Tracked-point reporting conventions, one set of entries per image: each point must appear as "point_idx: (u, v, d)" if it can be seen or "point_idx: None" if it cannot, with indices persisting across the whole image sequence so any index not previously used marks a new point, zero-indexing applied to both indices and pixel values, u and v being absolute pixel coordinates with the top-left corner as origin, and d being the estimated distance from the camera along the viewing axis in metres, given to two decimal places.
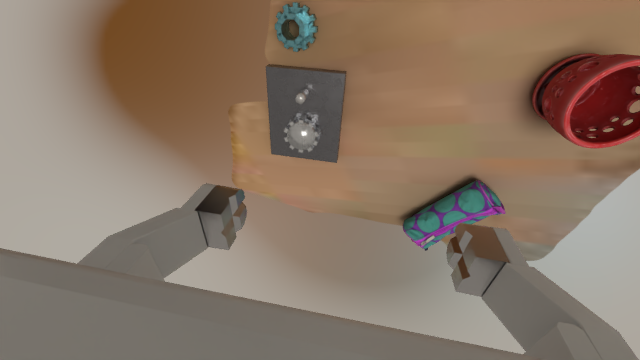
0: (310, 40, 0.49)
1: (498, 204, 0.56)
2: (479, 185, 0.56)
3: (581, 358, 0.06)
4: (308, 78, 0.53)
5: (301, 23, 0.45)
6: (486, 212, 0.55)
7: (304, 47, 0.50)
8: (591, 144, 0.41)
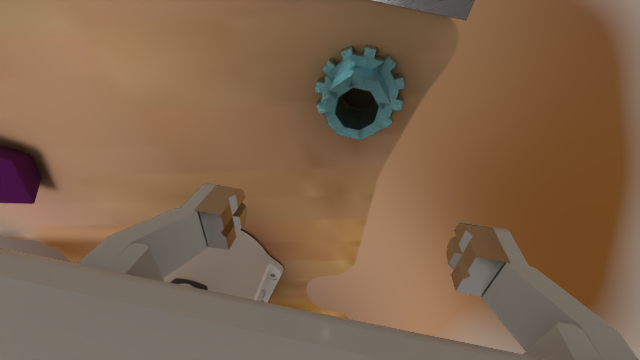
0: (330, 68, 0.22)
1: None
2: None
3: (581, 358, 0.06)
4: None
5: (329, 117, 0.21)
6: None
7: (346, 56, 0.22)
8: None
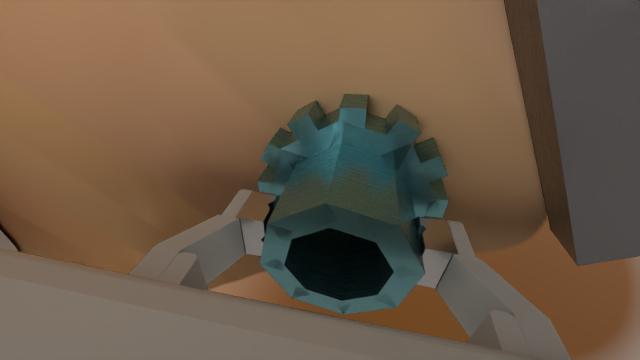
0: (355, 122, 0.09)
1: None
2: None
3: (507, 343, 0.06)
4: (620, 13, 0.06)
5: (272, 234, 0.08)
6: None
7: (401, 135, 0.09)
8: None
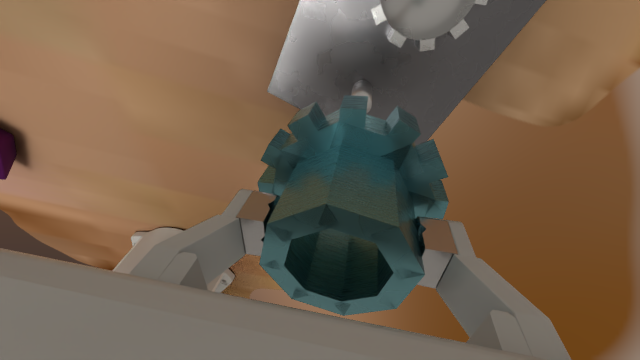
0: (355, 123, 0.09)
1: None
2: None
3: (507, 343, 0.06)
4: None
5: (272, 234, 0.08)
6: None
7: (401, 136, 0.09)
8: None
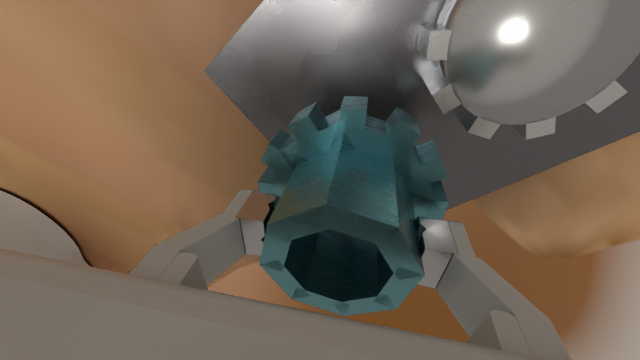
0: (355, 124, 0.09)
1: None
2: None
3: (507, 343, 0.06)
4: None
5: (272, 234, 0.08)
6: None
7: (401, 136, 0.09)
8: None
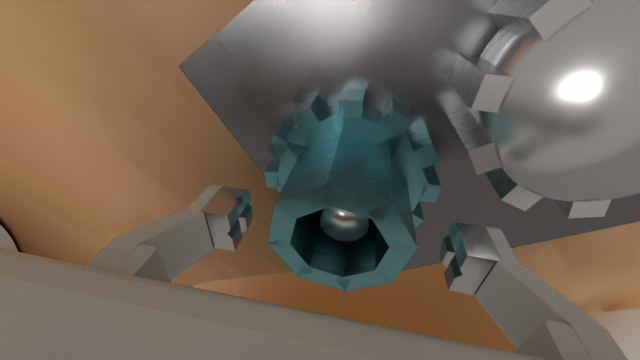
0: (353, 113, 0.10)
1: None
2: None
3: (569, 355, 0.06)
4: None
5: (279, 214, 0.09)
6: None
7: (395, 124, 0.10)
8: None
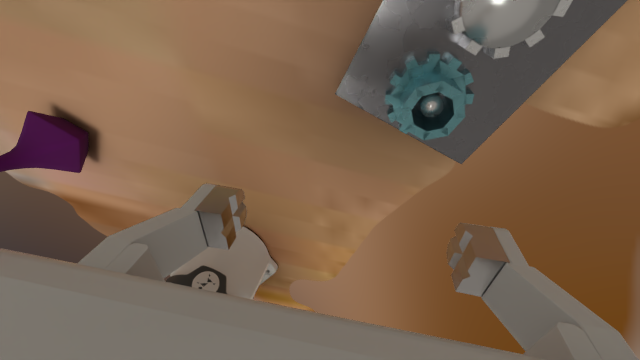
0: (414, 66, 0.24)
1: None
2: None
3: (581, 358, 0.06)
4: None
5: (404, 112, 0.23)
6: None
7: (433, 59, 0.23)
8: None
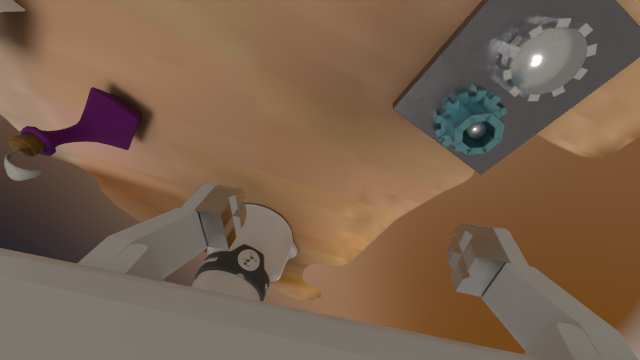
0: (465, 97, 0.31)
1: None
2: None
3: (581, 358, 0.06)
4: None
5: (457, 132, 0.30)
6: None
7: (480, 94, 0.30)
8: None
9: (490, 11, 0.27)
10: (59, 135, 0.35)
